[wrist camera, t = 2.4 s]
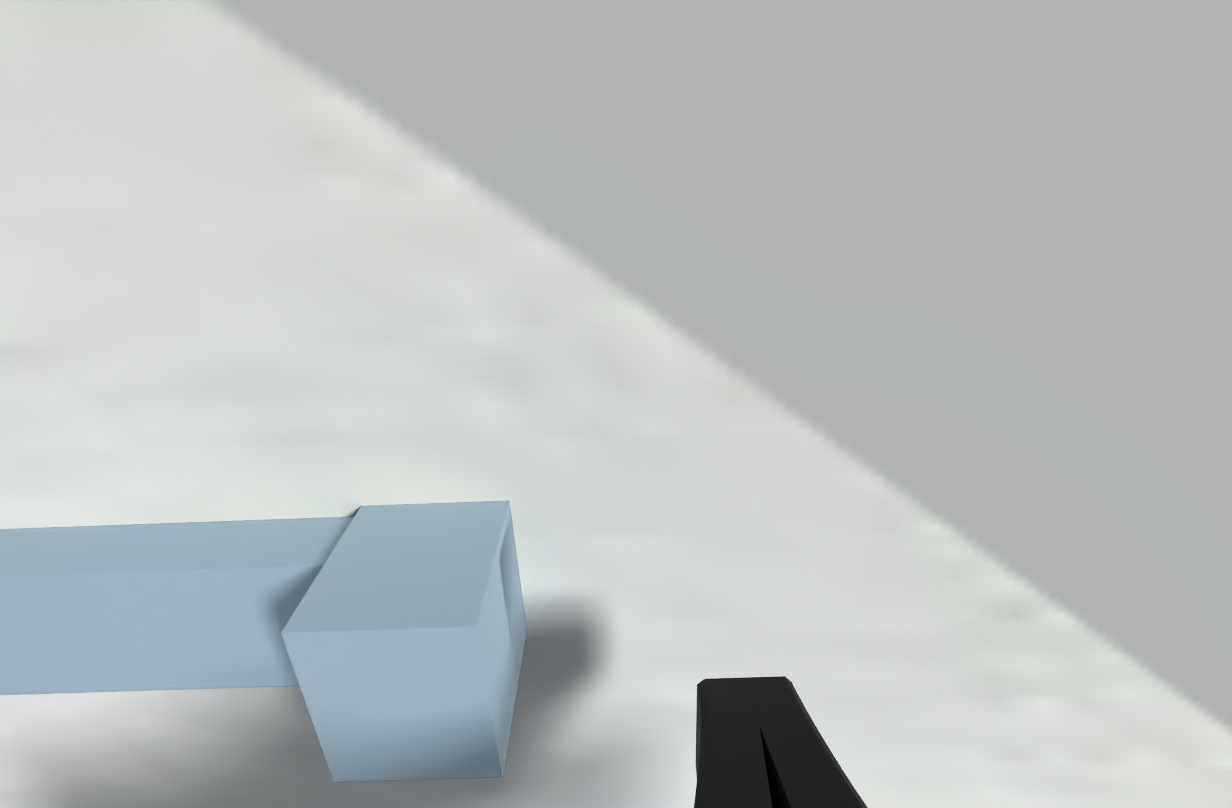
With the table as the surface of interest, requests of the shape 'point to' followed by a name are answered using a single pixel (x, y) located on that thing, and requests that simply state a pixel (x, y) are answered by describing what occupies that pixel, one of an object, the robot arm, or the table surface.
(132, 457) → the table surface
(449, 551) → the pale blue mallet
